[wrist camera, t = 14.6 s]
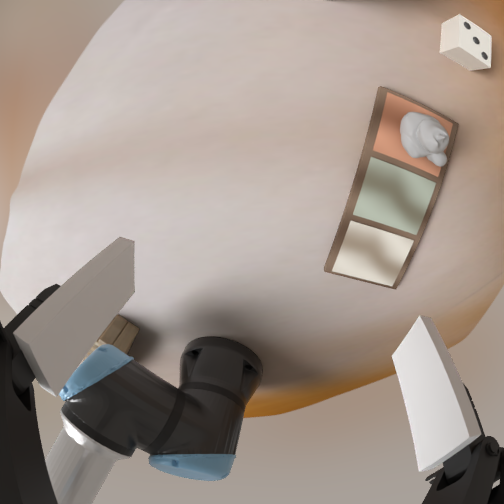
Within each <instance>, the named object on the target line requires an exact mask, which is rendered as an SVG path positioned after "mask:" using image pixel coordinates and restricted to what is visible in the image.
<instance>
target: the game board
mask: <svg viewBox="0 0 504 504" xmlns="http://www.w3.org/2000/svg"><path fill="white" fill-rule="evenodd" d="M408 112H418V113H422V114H425V115H430V116H432V117H434V118H436V119H437V120H438V121H439V122H440V124H441V125H442V126H443V127H444V128H445V130H446V131H447V133H448V135H449V143H448V145H447V147H446V149H445V150H444V151H443V152H444V153H445V155H446V157H447V162H446V164H445V165H444V166H441V167H439V166H437V165H435V164H434V163H433V162H432V161H430V160H428V158H427V157H426V156H425V157H420V158H413V157H411V156H410V155H409V154H408V153H407V152H406V150H405V149H404V147H403V145H402V142H401V134H400V125H401V120H402V118H403V117H404V116H405V115H406V114H407V113H408ZM457 127H458V123H456V122H454V121H453V120H451V119H449V118H447V117H445V116H444V115H442V114H440V113H438V112H436V111H434V110H432V109H430V108H428V107H426V106H424V105H422V104H420V103H418V102H416V101H414V100H412V99H410V98H407V97H405V96H403V95H401V94H398V93H396V92H394V91H391V90H389V89H386V88H384V87H381V86H380V87H378V91H377V96H376V100H375V104H374V108H373V113H372V117H371V121H370V125H369V128H368V132H367V136H366V140H365V143H364V147H363V151H362V154H361V158H360V161H359V165H358V168H357V172H356V175H355V178H354V182H353V185H352V188H351V191H350V194H349V197H348V201H347V204H346V207H345V210H344V213H343V216H342V219H341V222H340V225H339V228H338V230H337V233H336V236H335V239H334V242H333V245H332V247H331V250H330V253H329V256H328V258H327V261H326V264H325V266H324V272H328V273H332V274H336V275H340V276H344V277H348V278H352V279H356V280H360V281H364V282H368V283H372V284H376V285H380V286H384V287H388V288H392V289H396V288H397V286H398V285H399V283H400V281H401V279H402V277H403V275H404V273H405V271H406V269H407V267H408V265H409V262H410V260H411V258H412V256H413V254H414V252H415V250H416V247H417V245H418V243H419V241H420V238H421V236H422V234H423V231H424V229H425V227H426V224H427V222H428V219H429V217H430V214H431V211H432V209H433V206H434V204H435V201H436V198H437V195H438V192H439V190H440V187H441V184H442V181H443V178H444V175H445V171H446V168H447V165H448V161H449V158H450V155H451V151H452V147H453V144H454V140H455V136H456V132H457Z"/></svg>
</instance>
